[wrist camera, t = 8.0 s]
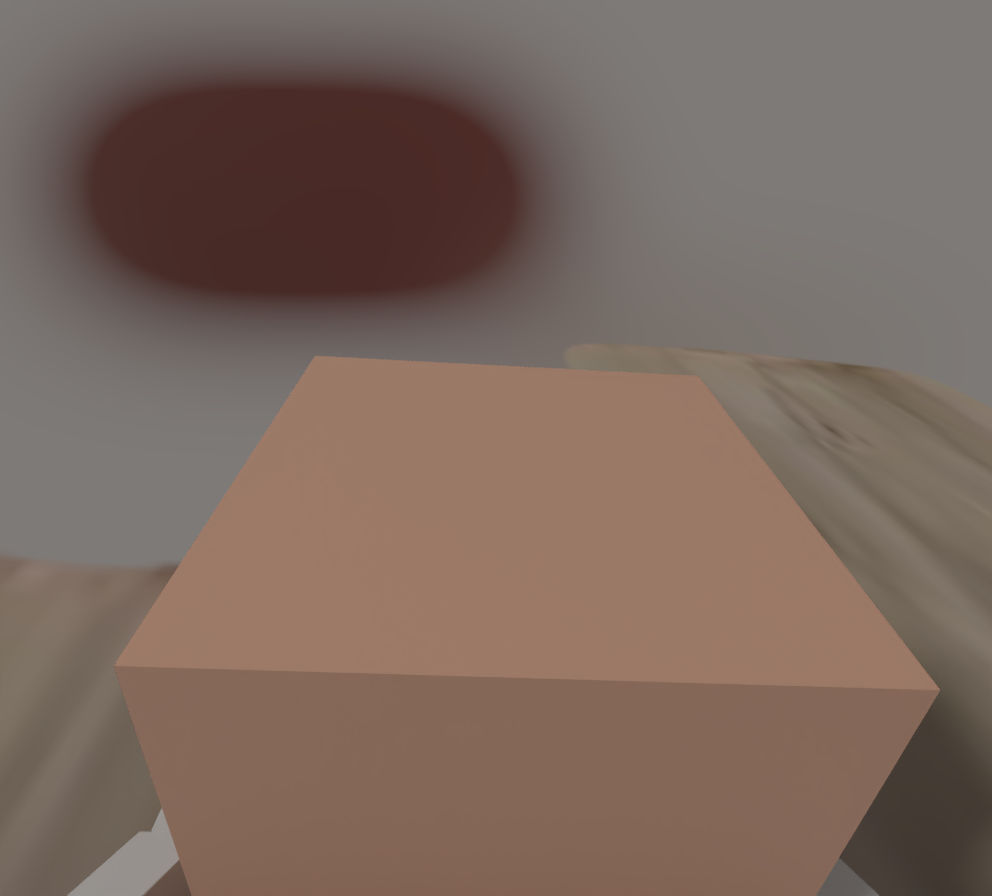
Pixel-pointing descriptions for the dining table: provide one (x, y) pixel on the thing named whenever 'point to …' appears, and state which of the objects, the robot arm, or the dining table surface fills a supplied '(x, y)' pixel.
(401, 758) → the terracotta block
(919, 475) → the dining table surface
